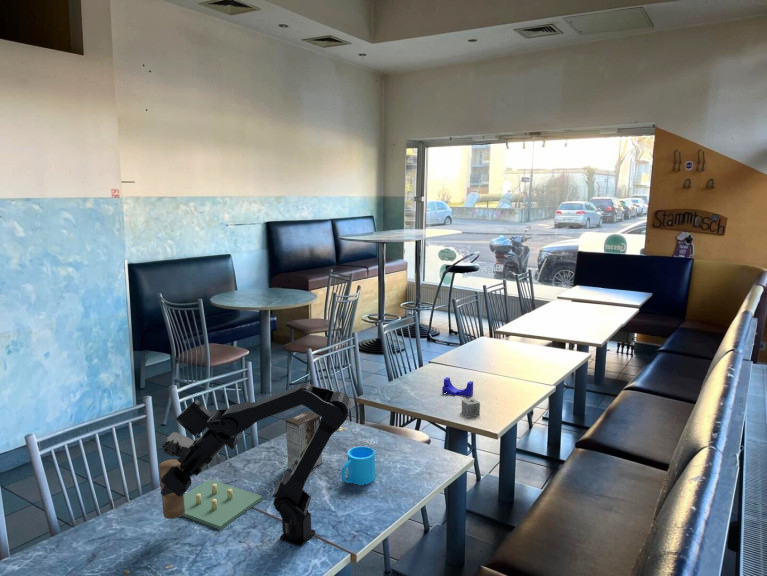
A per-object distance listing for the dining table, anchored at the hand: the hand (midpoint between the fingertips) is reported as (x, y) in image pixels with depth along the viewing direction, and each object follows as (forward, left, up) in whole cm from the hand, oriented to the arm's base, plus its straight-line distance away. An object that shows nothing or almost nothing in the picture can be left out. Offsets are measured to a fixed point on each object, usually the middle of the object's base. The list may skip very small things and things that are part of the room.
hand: (166, 488), depth 136 cm
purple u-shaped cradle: (-29, -125, -13) cm, 128 cm away
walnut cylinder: (-1, -1, -7) cm, 7 cm away
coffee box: (-9, -44, -13) cm, 47 cm away
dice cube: (-40, -107, -13) cm, 115 cm away
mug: (-28, -44, -13) cm, 54 cm away
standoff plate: (0, -15, -12) cm, 20 cm away
